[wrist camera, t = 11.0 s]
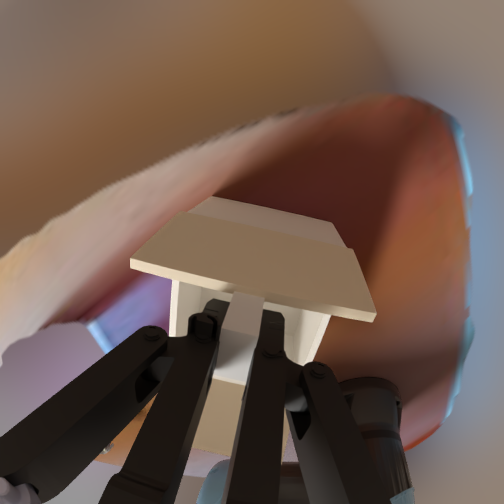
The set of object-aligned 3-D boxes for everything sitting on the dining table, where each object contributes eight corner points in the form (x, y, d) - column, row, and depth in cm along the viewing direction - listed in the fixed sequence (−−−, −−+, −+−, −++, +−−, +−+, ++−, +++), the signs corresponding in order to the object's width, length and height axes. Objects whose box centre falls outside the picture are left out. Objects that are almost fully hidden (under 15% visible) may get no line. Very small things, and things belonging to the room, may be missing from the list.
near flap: (350, 256, 20) (353, 249, 20) (372, 322, 14) (377, 313, 13) (179, 218, 21) (180, 210, 21) (130, 267, 14) (130, 258, 14)
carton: (331, 222, 30) (351, 256, 20) (296, 336, 35) (297, 395, 26) (211, 196, 30) (178, 218, 21) (195, 313, 36) (168, 365, 26)
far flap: (281, 464, 22) (280, 463, 22) (296, 394, 26) (294, 395, 26) (150, 434, 22) (152, 433, 23) (169, 366, 26) (170, 366, 27)
